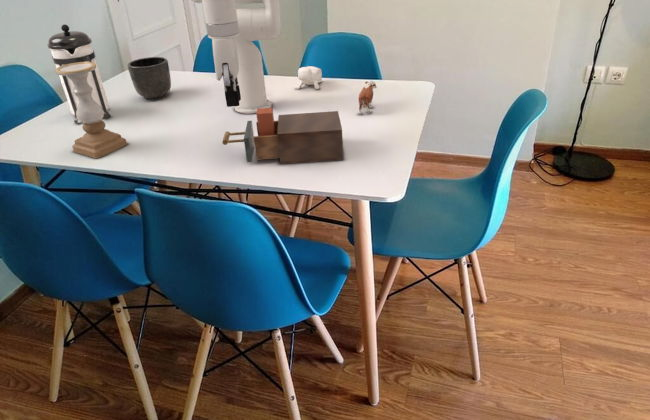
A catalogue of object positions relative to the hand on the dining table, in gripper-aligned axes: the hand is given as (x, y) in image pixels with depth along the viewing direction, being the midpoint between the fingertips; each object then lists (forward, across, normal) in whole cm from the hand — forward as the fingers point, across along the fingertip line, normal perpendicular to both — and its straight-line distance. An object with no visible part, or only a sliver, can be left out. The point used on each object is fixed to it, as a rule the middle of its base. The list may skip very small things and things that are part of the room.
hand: (234, 102), depth 128 cm
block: (+13, 0, +8) cm, 15 cm away
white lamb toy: (+15, -57, +20) cm, 62 cm away
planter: (+15, -57, -37) cm, 70 cm away
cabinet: (+15, 0, +19) cm, 24 cm away
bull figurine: (+15, -30, +38) cm, 51 cm away
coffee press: (+15, -41, -56) cm, 71 cm away
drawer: (+14, 0, +7) cm, 16 cm away
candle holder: (+15, -12, -43) cm, 47 cm away
